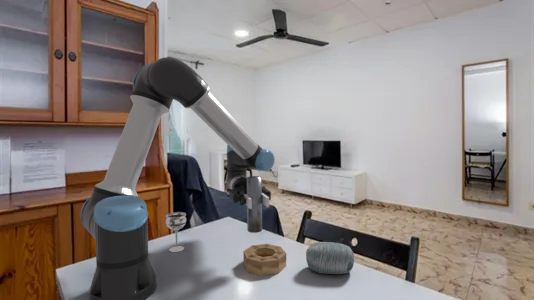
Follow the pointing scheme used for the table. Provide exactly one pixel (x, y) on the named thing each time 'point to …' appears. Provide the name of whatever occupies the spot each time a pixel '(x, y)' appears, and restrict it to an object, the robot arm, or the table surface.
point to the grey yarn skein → (330, 258)
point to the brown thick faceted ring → (264, 259)
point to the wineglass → (176, 226)
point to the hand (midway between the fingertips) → (259, 203)
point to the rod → (254, 204)
